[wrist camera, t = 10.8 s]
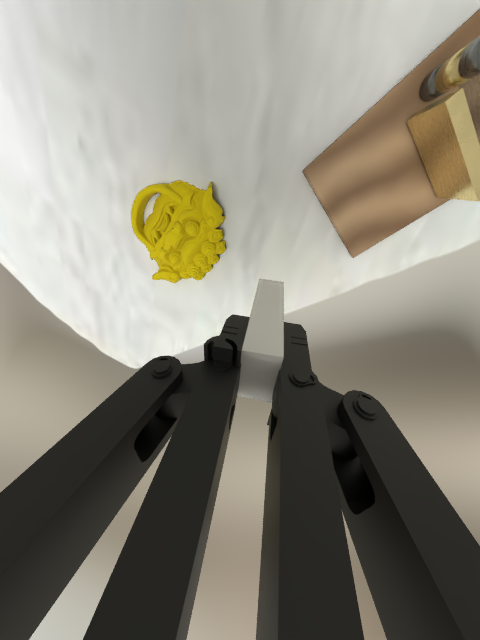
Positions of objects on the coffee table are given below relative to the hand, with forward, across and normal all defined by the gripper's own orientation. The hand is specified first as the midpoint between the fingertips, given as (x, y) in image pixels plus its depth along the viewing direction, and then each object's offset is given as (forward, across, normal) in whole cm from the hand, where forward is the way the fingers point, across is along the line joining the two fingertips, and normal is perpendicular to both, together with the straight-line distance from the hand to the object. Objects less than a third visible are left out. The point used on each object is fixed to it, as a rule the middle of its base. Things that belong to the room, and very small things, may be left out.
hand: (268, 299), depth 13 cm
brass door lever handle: (+23, +17, +12) cm, 31 cm away
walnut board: (+24, +14, +9) cm, 30 cm away
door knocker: (+25, -17, -3) cm, 30 cm away
